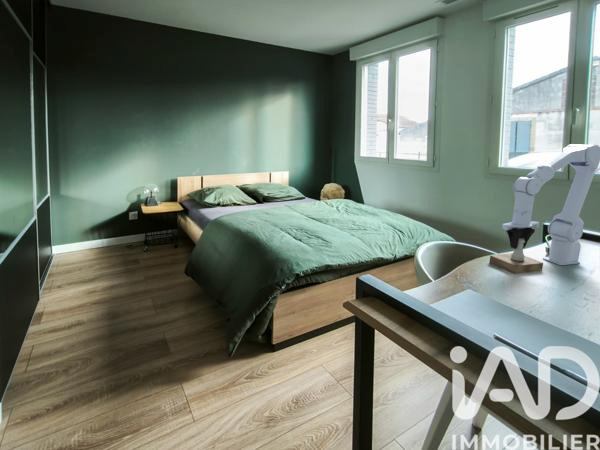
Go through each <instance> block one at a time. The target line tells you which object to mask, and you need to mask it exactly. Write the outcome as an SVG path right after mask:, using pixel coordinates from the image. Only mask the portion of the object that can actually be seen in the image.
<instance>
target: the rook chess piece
mask: <svg viewBox="0 0 600 450" xmlns="http://www.w3.org/2000/svg"><path fill="white" fill-rule="evenodd" d="M524 243H525V241H524V239H523V238H521V239H520V238H519V241H518V246H517V249H514V250H513V252H511V253H512V254H511V256H512V257H511V259H512V260H515V261H523V260H525V259H524V257H525V256H526V255H524V248H523V246H524V245H523V244H524Z"/></svg>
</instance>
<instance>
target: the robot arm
mask: <svg viewBox="0 0 600 450" xmlns="http://www.w3.org/2000/svg"><path fill="white" fill-rule="evenodd" d="M568 165H570V166H571V167H572V168H573V169H574V170H575V175H574V178H573V181H572V183H571V186H570V189H569V191H568V194H567V197H566V200H565V202H564V205H563V208H562V209H561V210H562V211H561V212H560V213H557V214H555V215H553V218H552V220H551V221H550V223H549V224H548V226H547V233H548V234H549V236H550V238H551V242H550V247H549V253H548V254H549V255H548V256H544V257H542V260H545V261H548V262H550V263H553V264H556V265H559V266H570V265H577V264H580V263H581V262H580V261H579V259H580V253H581V243H580V241H579V240H580V239H581V238H582V236H583V233H584V226H585V222H584V221H583V220H582V218H581V217H580V214H581V212H582V211H581V210H582V208H583V205H584V203H585V200H586V197H587V195H588V192H589V189H590V187H591V184H592V181H593V178H594V176H595V173H596V170H598V167H599V165H600V146H599V144H573V143H570V144H568V145H566V147H564V148H562V151H561V153H560V154H558V155H557V156H556V157H555V158H554V159H552V161H550V162H549V163H548V164H539V165H538V166H536V167H537V168H535V169H534V170H532V171H531V172H529V173H527V175H525V176H520V177H519V178H517V179H516V180H515V181H514V183H513V184H512V190H513V192H514V193H513V194H514V204H513V205H514V206H513V213H512V220H511V221H510V222H507V223H502V224H501V230H504V231H505V232H506V234H507V236H508V239H509V245H510V249H514V250H515V249H517V246H518V241H519V238H520V239H521V238H523V239H524V241H525V243H524V244H523V245H524V246H523V249H525V247H526V246H527V244H528V243H529V242H528V241H529V239H530V238H531V237H532V235H533V234H535V232H536V229H538V228H539V227H540V222H539V221H532V216H533V215H532V214H533V209H534V208H533V207H534V202H535V196H536V194H538V193H539V192H540V190H541V188H542V187H543V185H544V184H545V183H547V182H548V181H550V180H552V179H553V178H554V177H555V173H556V172H557V171H559V170H561V169H563V168H564V167H566V166H568ZM534 228H536V229H534Z"/></svg>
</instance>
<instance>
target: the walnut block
mask: <svg viewBox="0 0 600 450" xmlns="http://www.w3.org/2000/svg"><path fill="white" fill-rule="evenodd" d="M512 253H513V252H511V253H501V254H492V255H491V254H490V256H489V264H491V265H493V266H495V267H496V268H497V267H498V268H500V269H502V270H505V271H507V272H508V273H509V272H510V273H511V274H514V275H518V274H524V273H525V274H528V273H532V272H533V273H535V272H542V271H543V267H544V262H543V261H539V260H537V259H533V258H531V257H529V256H526V255H524V256H525V257H524V259H525V260H523V261H515V260H512V259H511V257H512V256H511V254H512Z"/></svg>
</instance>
